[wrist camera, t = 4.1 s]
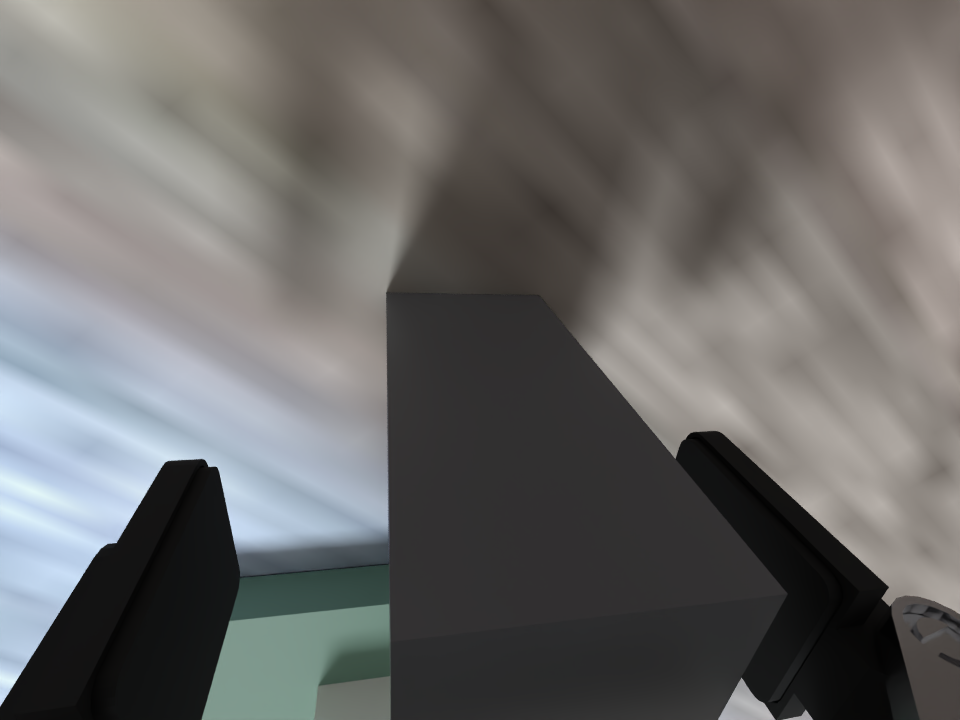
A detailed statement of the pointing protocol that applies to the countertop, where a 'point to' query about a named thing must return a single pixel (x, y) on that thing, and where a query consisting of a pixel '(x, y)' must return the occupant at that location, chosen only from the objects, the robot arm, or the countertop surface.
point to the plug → (547, 533)
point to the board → (306, 648)
